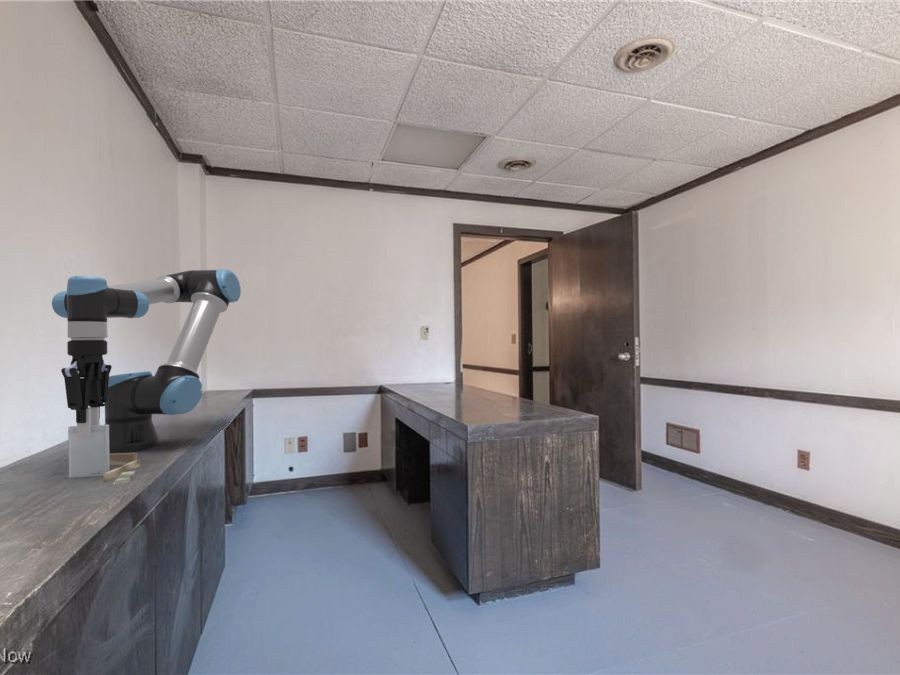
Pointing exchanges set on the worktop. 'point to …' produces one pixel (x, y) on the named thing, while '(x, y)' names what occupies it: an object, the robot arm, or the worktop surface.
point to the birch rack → (123, 459)
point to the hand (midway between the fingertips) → (88, 434)
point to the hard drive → (89, 452)
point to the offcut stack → (124, 477)
